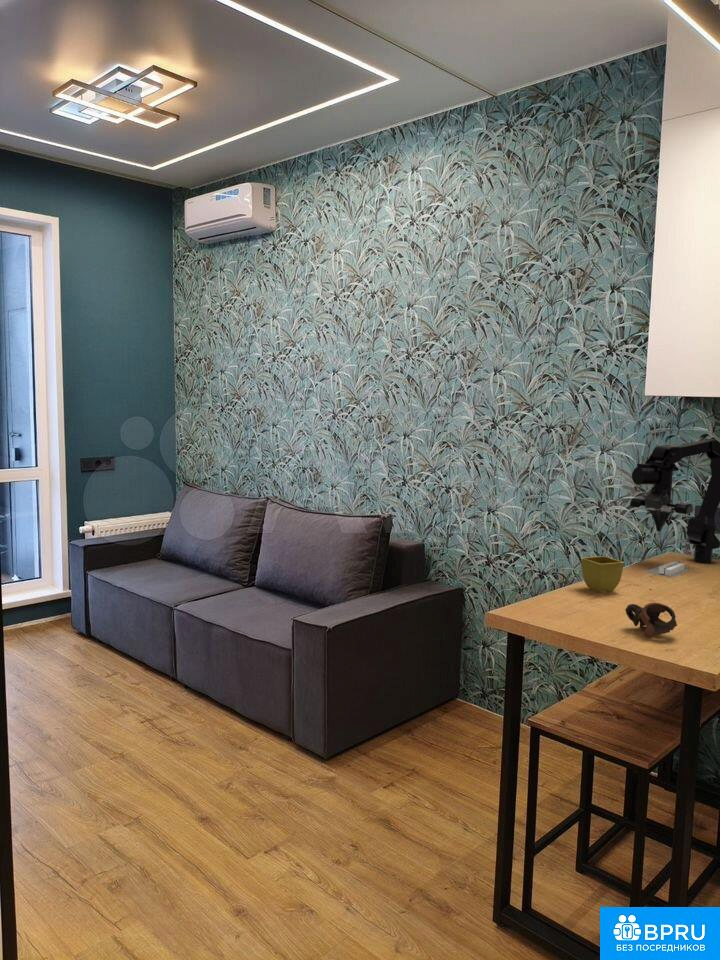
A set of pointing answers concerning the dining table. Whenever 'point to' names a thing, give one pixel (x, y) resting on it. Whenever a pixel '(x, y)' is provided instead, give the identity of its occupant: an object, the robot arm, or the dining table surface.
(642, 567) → the dining table surface
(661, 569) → the tong arm
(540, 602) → the dining table surface
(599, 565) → the flower pot
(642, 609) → the dark brown openwork sculpture
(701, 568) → the dining table surface
